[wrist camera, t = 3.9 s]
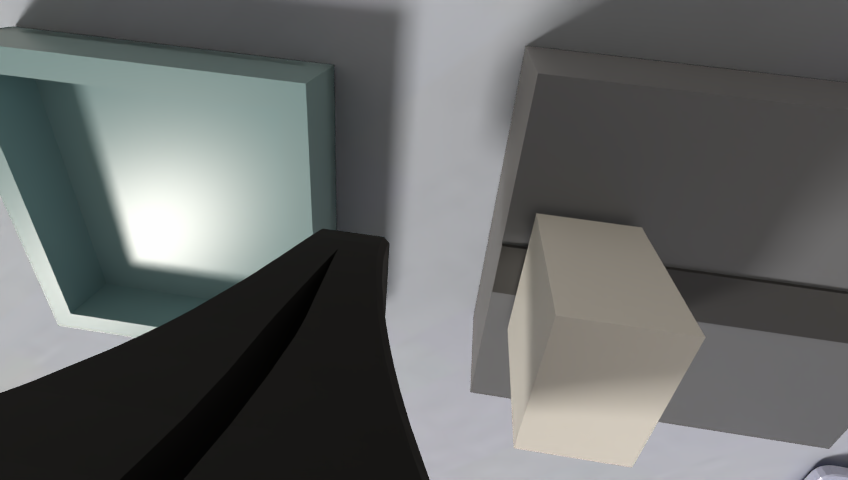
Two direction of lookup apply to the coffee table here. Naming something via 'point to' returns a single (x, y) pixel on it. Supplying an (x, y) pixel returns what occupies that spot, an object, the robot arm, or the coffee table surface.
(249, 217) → the tray
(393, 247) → the coffee table surface
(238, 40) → the coffee table surface
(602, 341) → the switch
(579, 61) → the grey flat block
